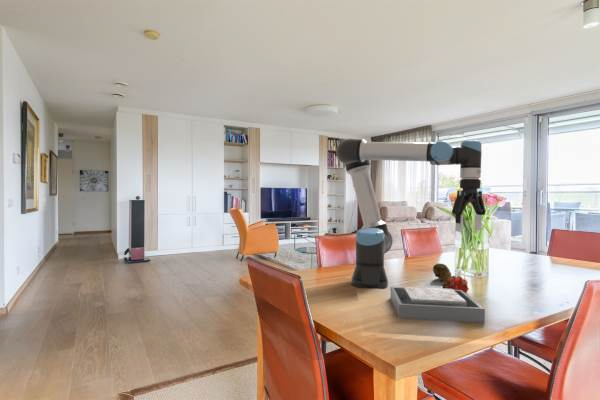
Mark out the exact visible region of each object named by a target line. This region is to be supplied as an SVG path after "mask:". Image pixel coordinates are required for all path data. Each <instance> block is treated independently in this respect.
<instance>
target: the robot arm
mask: <svg viewBox="0 0 600 400" xmlns="http://www.w3.org/2000/svg"><path fill="white" fill-rule="evenodd" d="M335 151H336V157H337V159H338V160H339V162H340V163H342V164H344V167H345V171H346V174H348V175H350V176H351V180H352V184H353V188H354V192H355V193H354V194H355V196H356V201H357V204H358V208H359V213H360V216H361V220H362V224H363V225H362V227H361V228H360V229H358V230H356V235H355V267H354V271H353V273H352V276H351V285H352V286H354V287H356V288H361V289H373V290H378V289H386V288H388V286H389V281H388V276H387V272H386V269H385V267H384V266H385V265H384V264H385V263H384V261H385V254H386V253H388V252H389V251H390V250H391V248H392V246H393V243H394V242H393V236H392V234H391V233H390V231H389V229H388V225H387V222H386V221H383V220H382V216H381V212H380V208H379V204H378V201H377V196H376V193H375V189H374V185H373V181H372V178H371V177H372V176H371V174H370V169H371V167H372V164H371V161H393V162H394V161H398V162H399V161H401V162H429V164H430V165H432V166H449V165H457V166H458V165H460V168H459V169H460V171H459V178H460V180H459V188H460V190H458V189H457V193H456V197H455V201H454V204H453V206H452V210H451V213H452V215H453V216H455V226H454V227H455V229H454V231H455V232H459V233H462V232H463V231H464V215H463V213H464V211H465V209H466V208H467V205H468V204H469V203H471V205H472V207H473V210H474V212H475V214H474V222H473V223H474V224H473V225H474V227H473V229H474V231H482V228H483V225H482V223H483V216H485V215H486V208H485V207H486V206H485V202H484V200H483V192H482V190H478V189H481V182H482V181H481V179H480V178H481V176H482V175H481V173H482V170H481V169H482V154H483V153H482V142H481V141H480V140H475V139H473V140H472V139H471V140H470V139H469V140H468V139H467V140H462V142H461V143H460V145H458V146H457V145H456V146H452V144H451V143H449V142H447V141H445V140H438V141H436V142H435V141H434V142H432V141H431V142H425V141H423V142H419V141H415V142H414V141H411V142H408V141H406V142H404V141H367V140H365V139H357V138H356V139H355V138H345V139H343V140H342V141H340V142H339V143H338V145H337V146H336V150H335ZM463 233H464V232H463Z"/></svg>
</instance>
